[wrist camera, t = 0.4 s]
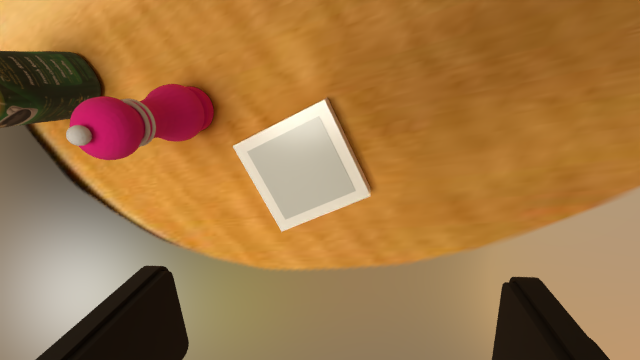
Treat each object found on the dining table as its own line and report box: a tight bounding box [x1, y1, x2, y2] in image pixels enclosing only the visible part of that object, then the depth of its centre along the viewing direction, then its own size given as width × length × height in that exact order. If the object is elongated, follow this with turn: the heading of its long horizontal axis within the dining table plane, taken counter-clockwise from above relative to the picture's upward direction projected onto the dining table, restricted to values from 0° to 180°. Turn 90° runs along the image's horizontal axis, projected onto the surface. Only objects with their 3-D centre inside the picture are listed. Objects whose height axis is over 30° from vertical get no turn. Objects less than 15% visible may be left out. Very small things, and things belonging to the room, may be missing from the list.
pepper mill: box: [66, 84, 214, 160], centre depth 36 cm, size 7×7×20 cm
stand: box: [233, 98, 371, 231], centre depth 44 cm, size 14×14×3 cm
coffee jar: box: [0, 51, 101, 128], centre depth 38 cm, size 10×8×19 cm
